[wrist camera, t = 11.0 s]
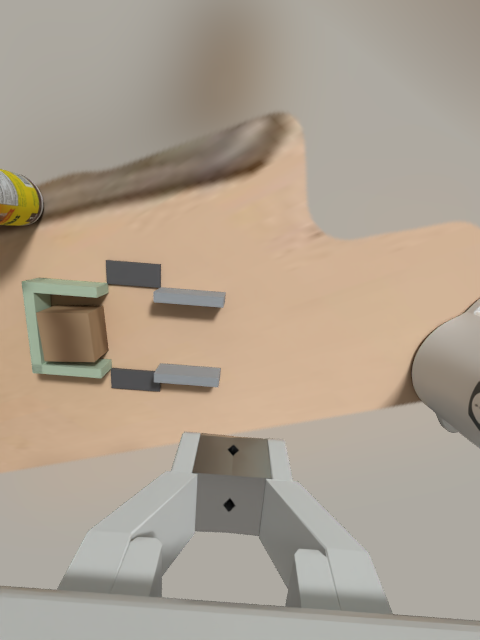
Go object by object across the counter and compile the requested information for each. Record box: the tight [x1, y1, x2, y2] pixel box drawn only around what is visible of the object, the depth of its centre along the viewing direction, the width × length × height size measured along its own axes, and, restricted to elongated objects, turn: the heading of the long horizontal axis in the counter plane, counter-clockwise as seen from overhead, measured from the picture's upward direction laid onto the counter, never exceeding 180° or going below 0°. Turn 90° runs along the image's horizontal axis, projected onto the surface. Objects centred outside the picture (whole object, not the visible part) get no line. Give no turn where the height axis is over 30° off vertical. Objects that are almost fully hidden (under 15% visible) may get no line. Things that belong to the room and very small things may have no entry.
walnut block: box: [36, 305, 108, 362], centre depth 37 cm, size 6×6×4 cm
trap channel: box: [22, 260, 226, 392], centre depth 37 cm, size 23×17×3 cm
